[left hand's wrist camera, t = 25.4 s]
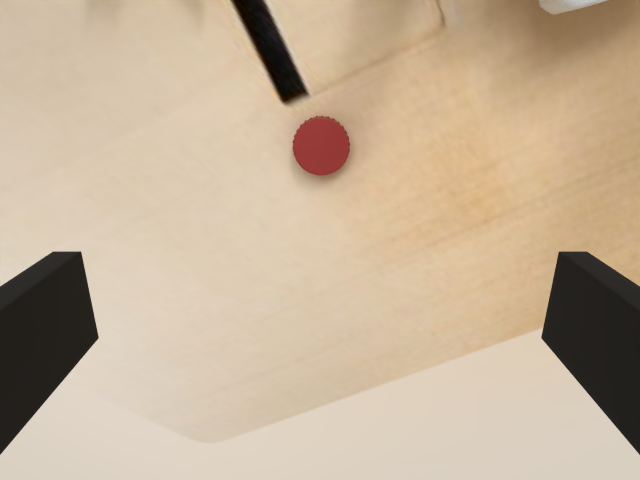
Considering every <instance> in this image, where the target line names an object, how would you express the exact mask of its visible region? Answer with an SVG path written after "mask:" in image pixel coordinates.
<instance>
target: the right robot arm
mask: <svg viewBox="0 0 640 480" xmlns="http://www.w3.org/2000/svg"><path fill="white" fill-rule="evenodd" d="M605 1H608V0H539V5H540V7H541V8H542V9H544V10H545V11H547V12H549V13H550V14H553V15H554V14H559V13H564V12H568V11H572V10H576V9H580V8H584V7H587V6H591V5H595V4H598V3H601V2H605Z"/></svg>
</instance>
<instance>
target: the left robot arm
mask: <svg viewBox="0 0 640 480" xmlns="http://www.w3.org/2000/svg"><path fill="white" fill-rule="evenodd" d="M98 338H99V337H98V332H97V327H96V323H95V318H94V313H93V308H92V303H91V298H90V293H89V288H88V283H87V278H86V273H85V269H84V264H83V259H82V254H81V252H52V253H50V254H49V255H47V256H46V257H44V258H43V259H41V260H40V261H38V262H37V263H35V264H34V265H32V266H31V267H29V268H28V269H26V270H25V271H23V272H22V273H20V274H19V275H17V276H16V277H14V278H13V279H11V280H10V281H8V282H7V283H5V284H3V285H2V286H0V454H1V453H2V452H3V451H4V450H5V448H6V447H7V446H8V445H9V444H10V442H11V441H12V440H13V439H14V438H15V436H16V435H17V434H18V433H19V432H20V431H21V429H22V428H23V427H24V426H25V425H26V423H27V422H28V421H29V420H30V419H31V418H32V416H33V415H34V414H35V413H36V412H37V410H38V409H39V408H40V407H41V406H42V405H43V403H44V402H45V401H46V400H47V399H48V397H49V396H50V395H51V394H52V393H53V391H54V390H55V389H56V388H57V387H58V386H59V384H60V383H61V382H62V381H63V380H64V378H65V377H66V376H67V375H68V374H69V373H70V371H71V370H72V369H73V368H74V367H75V365H76V364H77V363H78V362H79V361H80V359H81V358H82V357H83V356H84V355H85V354H86V352H87V351H88V350H89V349H90V348H91V346H92V345H93V344H94V343H95V342H96V341H97V339H98ZM542 339H543V341H544V342H545V343H546V344H547V345H548V346H549V348H550V349H551V350H552V351H553V352H554V353H555V355H556V356H557V357H558V358H559V359H560V361H561V362H562V363H563V364H564V365H565V367H566V368H567V369H568V370H569V371H570V373H571V374H572V375H573V376H574V377H575V378H576V380H577V381H578V382H579V383H580V384H581V386H582V387H583V388H584V389H585V390H586V391H587V393H588V394H589V395H590V396H591V397H592V399H593V400H594V401H595V402H596V403H597V404H598V406H599V407H600V408H601V409H602V410H603V412H604V413H605V414H606V415H607V416H608V418H609V419H610V420H611V421H612V422H613V423H614V425H615V426H616V427H617V428H618V429H619V431H620V432H621V433H622V434H623V435H624V437H625V438H626V439H627V440H628V441H629V442H630V444H631V445H632V446H633V447H634V448H635V450H636V451H637V452H638V453H639V454H640V286H638V285H637V284H635V283H633V282H632V281H630V280H629V279H627V278H626V277H624V276H623V275H621V274H620V273H618V272H617V271H615V270H614V269H612V268H611V267H609V266H608V265H606V264H605V263H603V262H602V261H600V260H599V259H597V258H596V257H594V256H593V255H591V254H590V253H588V252H559V254H558V259H557V264H556V269H555V273H554V278H553V283H552V288H551V293H550V298H549V303H548V308H547V313H546V318H545V323H544V327H543V332H542Z"/></svg>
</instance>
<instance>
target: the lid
mask: <svg viewBox="0 0 640 480" xmlns="http://www.w3.org/2000/svg"><path fill="white" fill-rule="evenodd" d="M296 132H297V133H296V134H295V136H294V137H295V138H294V140H293V151H294V155H295V158H296V161H297V162H298V163H299V165H300V166H301V167H302V168H303V169H305V170H306V171H308V172H309V173H312V174H316V175H327V174H331V173H333V172H335V171H337V170H338V169H339V168H340V167H342V165H343V164H344V163H345V161H346V159H347V157H348V153H349V151H350V150H349V145H350V143H349V140H348V139H349V137H348V136H347V132H346V131H345V130H344V127H343V126H341V125H340V123H339V122H337V121H335V120H334V119H331V118H329V117H323V116H322V117H317V116H316V117H314V118H310V119H309V120H307V121H305V123H303V124H301V125H300V128H299V129H297V131H296Z"/></svg>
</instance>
